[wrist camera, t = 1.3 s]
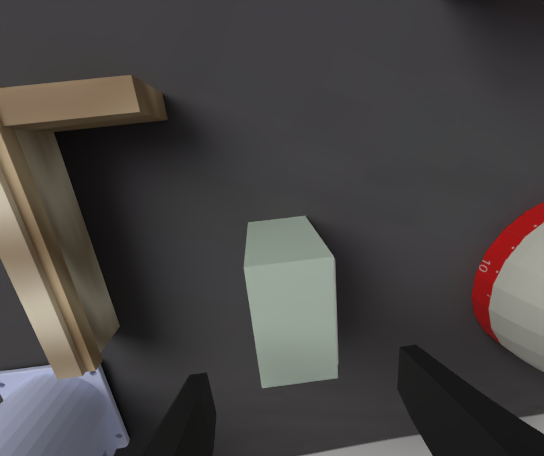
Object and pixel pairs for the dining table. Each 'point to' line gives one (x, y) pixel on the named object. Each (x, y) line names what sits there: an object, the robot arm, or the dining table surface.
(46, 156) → the l-shaped wooden block
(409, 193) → the dining table surface
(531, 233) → the kitchen timer
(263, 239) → the cabinet block
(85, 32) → the dining table surface
